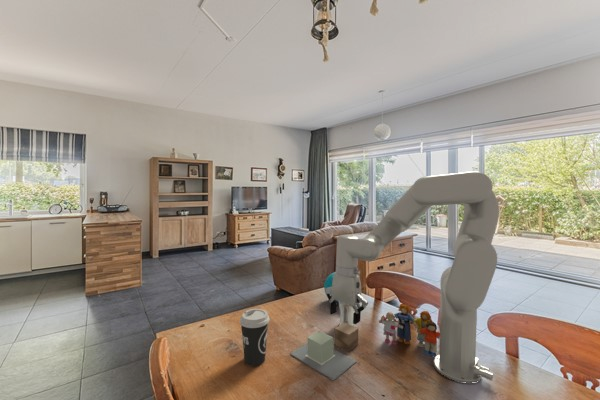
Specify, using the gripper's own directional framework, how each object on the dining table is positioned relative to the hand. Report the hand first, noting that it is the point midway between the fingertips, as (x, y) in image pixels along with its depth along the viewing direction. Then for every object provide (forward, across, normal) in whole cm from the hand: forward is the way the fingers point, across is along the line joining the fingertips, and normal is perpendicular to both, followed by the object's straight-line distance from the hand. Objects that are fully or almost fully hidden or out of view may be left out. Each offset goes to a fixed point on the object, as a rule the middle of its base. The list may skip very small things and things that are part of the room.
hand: (344, 317), depth 97 cm
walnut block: (+10, -1, 0) cm, 10 cm away
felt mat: (+10, 0, +12) cm, 15 cm away
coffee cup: (+10, +15, +28) cm, 33 cm away
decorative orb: (+10, +22, -28) cm, 37 cm away
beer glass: (+10, +7, -12) cm, 17 cm away
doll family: (+9, -17, -17) cm, 26 cm away
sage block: (+9, +1, +12) cm, 15 cm away
